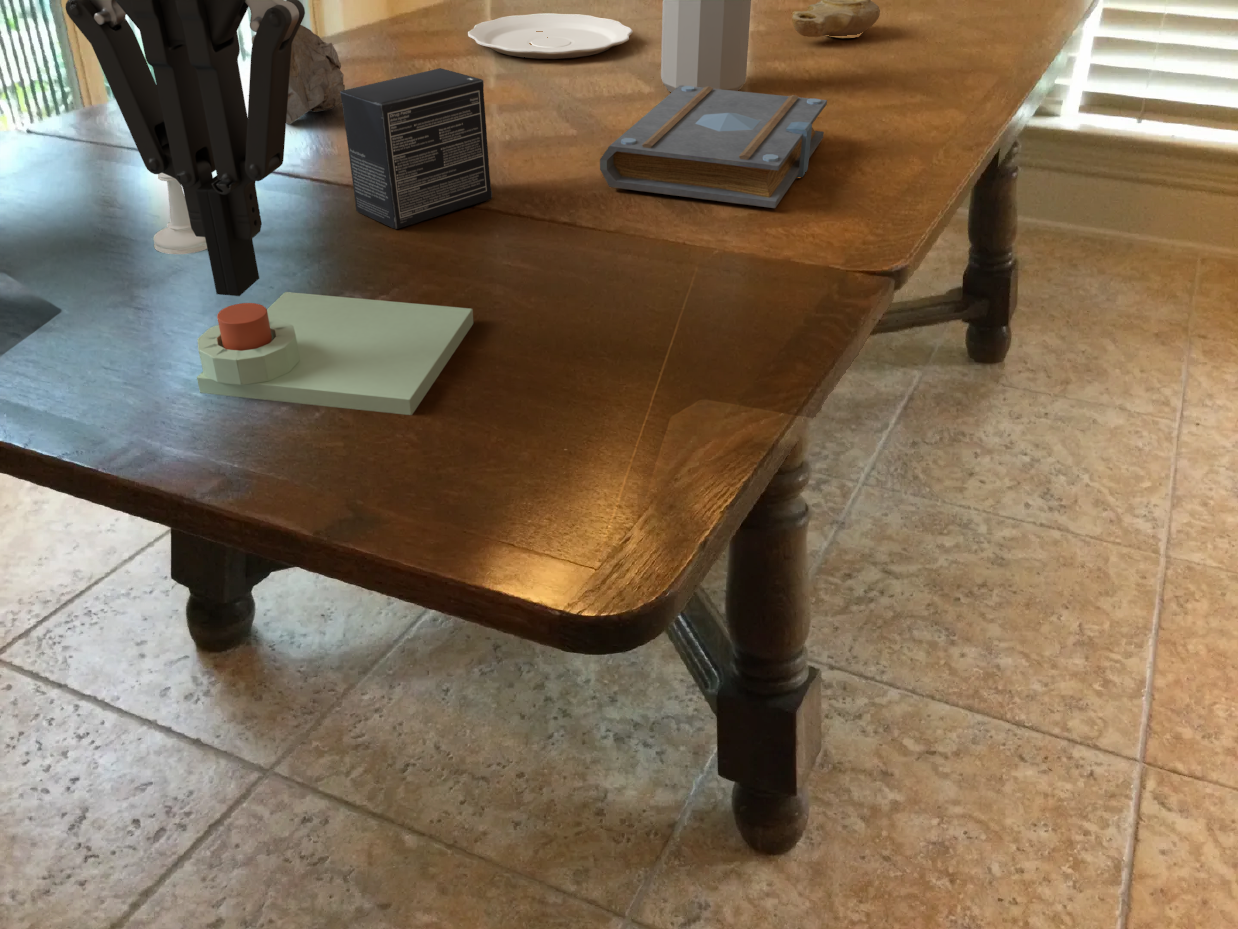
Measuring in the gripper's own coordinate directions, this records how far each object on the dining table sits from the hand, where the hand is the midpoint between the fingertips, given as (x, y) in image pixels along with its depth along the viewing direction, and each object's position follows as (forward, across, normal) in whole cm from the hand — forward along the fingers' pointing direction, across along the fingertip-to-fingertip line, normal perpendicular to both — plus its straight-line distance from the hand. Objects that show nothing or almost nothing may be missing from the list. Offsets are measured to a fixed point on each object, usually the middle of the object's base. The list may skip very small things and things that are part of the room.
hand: (238, 285), depth 71 cm
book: (+7, -24, -48) cm, 54 cm away
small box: (+7, 0, -32) cm, 33 cm away
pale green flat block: (+7, -4, -4) cm, 9 cm away
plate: (+7, +3, -91) cm, 91 cm away
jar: (+7, -19, -74) cm, 77 cm away
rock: (+7, +21, -55) cm, 59 cm away
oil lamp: (+7, -33, -102) cm, 108 cm away
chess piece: (+7, +16, -20) cm, 26 cm away
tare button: (+4, 0, 0) cm, 4 cm away
